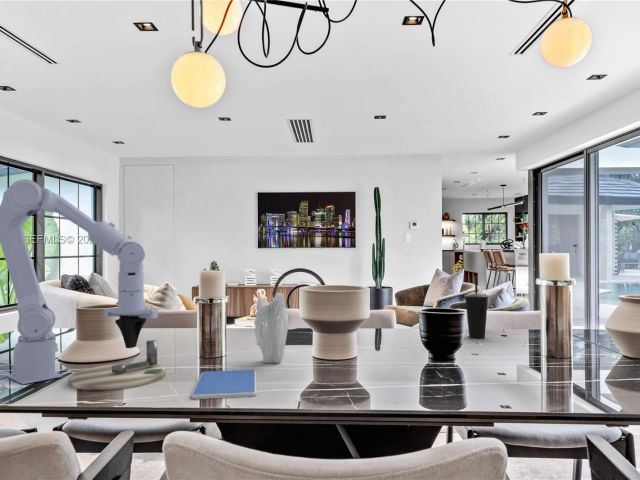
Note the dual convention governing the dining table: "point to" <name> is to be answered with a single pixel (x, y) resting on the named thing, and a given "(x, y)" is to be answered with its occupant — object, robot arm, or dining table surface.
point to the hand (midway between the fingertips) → (130, 347)
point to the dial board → (115, 377)
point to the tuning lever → (150, 360)
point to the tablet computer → (225, 384)
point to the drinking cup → (476, 312)
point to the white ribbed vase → (271, 328)
